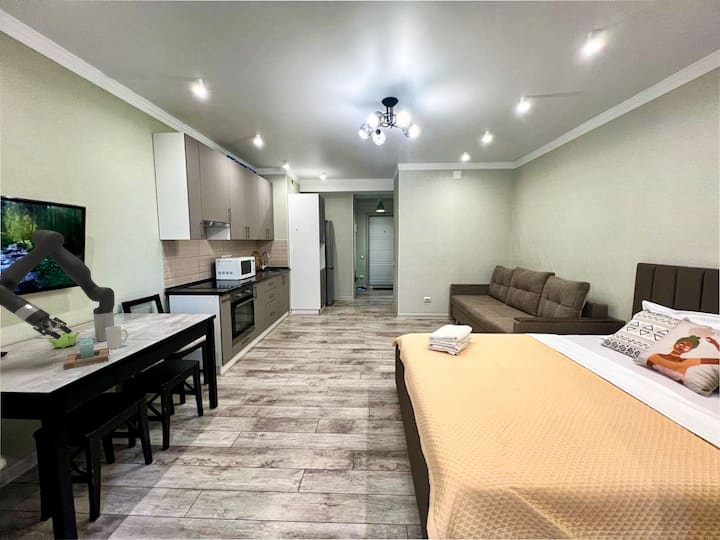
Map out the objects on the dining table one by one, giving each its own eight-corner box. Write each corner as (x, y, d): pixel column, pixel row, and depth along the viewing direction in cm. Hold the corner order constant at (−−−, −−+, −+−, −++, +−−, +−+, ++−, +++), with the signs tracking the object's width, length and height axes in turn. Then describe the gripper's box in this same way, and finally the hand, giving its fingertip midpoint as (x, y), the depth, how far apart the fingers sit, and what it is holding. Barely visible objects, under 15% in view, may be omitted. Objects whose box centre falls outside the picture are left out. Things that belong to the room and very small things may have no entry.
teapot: (75, 347, 163) (74, 333, 162) (47, 351, 156) (45, 336, 156) (81, 341, 172) (79, 328, 171) (54, 345, 166) (53, 331, 165)
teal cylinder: (81, 360, 146) (80, 339, 145) (94, 357, 149) (92, 337, 148) (80, 363, 143) (79, 342, 141) (93, 360, 146) (92, 340, 145)
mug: (104, 350, 159) (103, 329, 158) (109, 346, 165) (108, 326, 164) (126, 347, 163) (125, 327, 162) (130, 344, 169) (129, 324, 168)
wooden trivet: (68, 359, 147) (67, 354, 147) (108, 351, 157) (108, 347, 157) (63, 369, 135) (63, 365, 135) (108, 361, 145) (107, 356, 145)
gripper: (28, 312, 131) (62, 333, 136) (49, 305, 144) (79, 325, 149) (14, 324, 129) (49, 345, 134) (36, 316, 143) (67, 336, 148)
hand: (65, 335), depth 142 cm, fingers open, 8 cm apart
